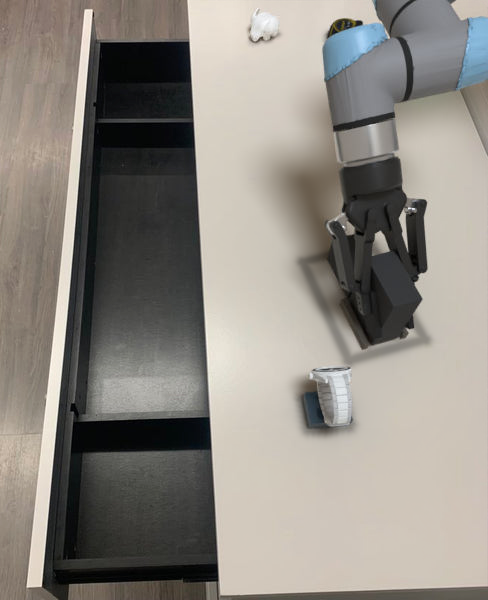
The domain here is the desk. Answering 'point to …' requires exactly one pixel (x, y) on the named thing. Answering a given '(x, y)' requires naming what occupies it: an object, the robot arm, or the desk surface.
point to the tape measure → (343, 25)
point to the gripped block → (390, 296)
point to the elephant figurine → (263, 25)
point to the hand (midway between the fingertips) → (390, 330)
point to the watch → (329, 398)
